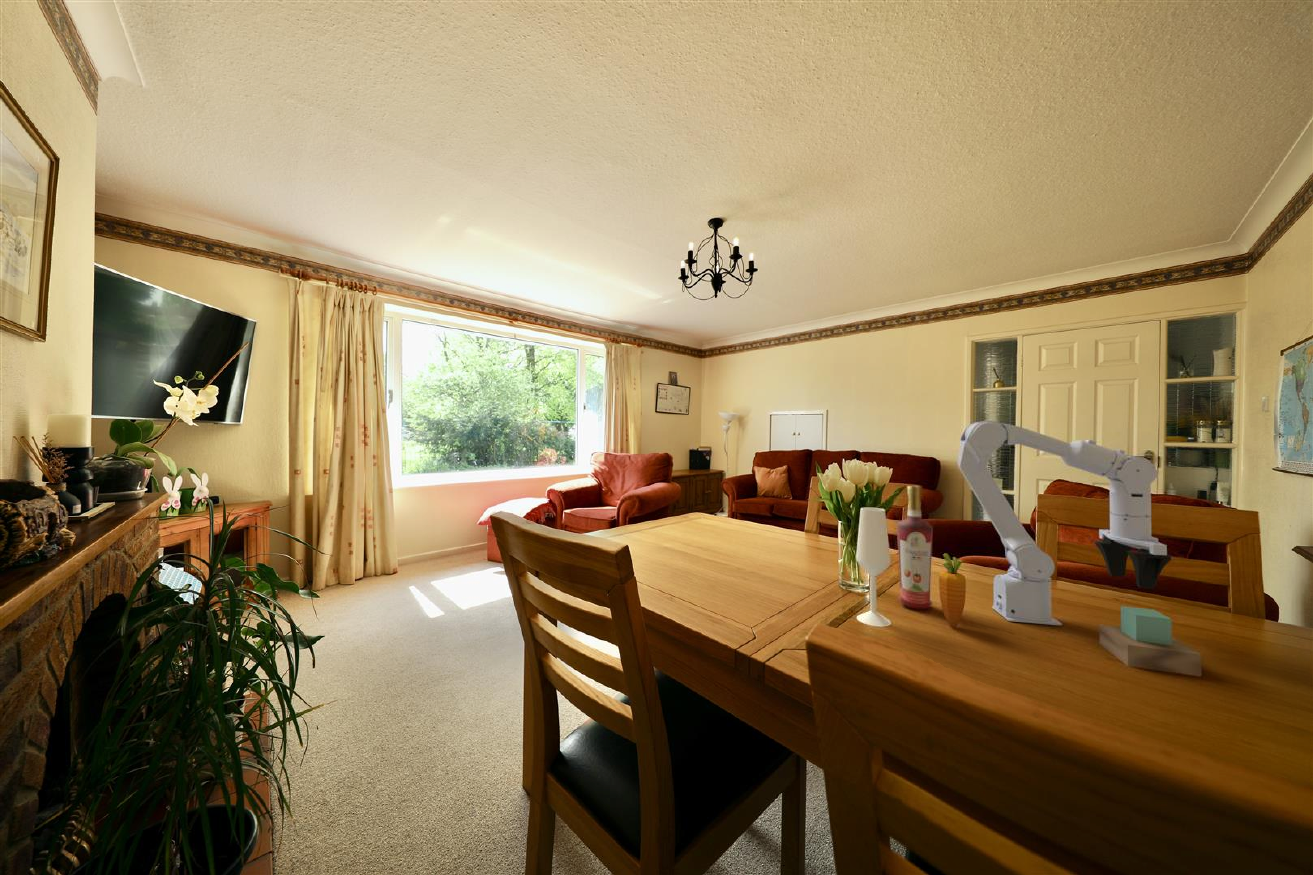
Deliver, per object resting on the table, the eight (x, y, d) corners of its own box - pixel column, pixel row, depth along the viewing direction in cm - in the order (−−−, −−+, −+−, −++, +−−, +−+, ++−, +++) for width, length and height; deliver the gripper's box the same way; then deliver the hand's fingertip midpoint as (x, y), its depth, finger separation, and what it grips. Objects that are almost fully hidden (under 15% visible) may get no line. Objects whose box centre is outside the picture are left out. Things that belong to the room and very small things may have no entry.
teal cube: (1136, 640, 77) (1136, 614, 77) (1121, 630, 81) (1120, 605, 81) (1171, 645, 75) (1171, 618, 75) (1154, 634, 79) (1154, 609, 79)
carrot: (972, 633, 88) (971, 558, 89) (944, 631, 89) (943, 557, 90) (960, 623, 93) (959, 552, 93) (934, 621, 94) (933, 551, 94)
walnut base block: (1128, 668, 76) (1127, 644, 76) (1099, 645, 84) (1099, 624, 84) (1201, 678, 72) (1201, 654, 72) (1164, 654, 80) (1164, 632, 80)
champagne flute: (873, 612, 100) (873, 506, 100) (898, 624, 93) (897, 510, 93) (849, 616, 98) (848, 507, 98) (873, 628, 91) (872, 512, 91)
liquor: (899, 609, 101) (898, 487, 101) (895, 598, 108) (894, 484, 108) (936, 614, 98) (935, 488, 98) (930, 602, 105) (929, 485, 105)
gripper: (1187, 522, 81) (1188, 595, 81) (1127, 509, 95) (1127, 572, 95) (1139, 520, 83) (1140, 592, 83) (1087, 508, 97) (1088, 570, 97)
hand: (1130, 582), depth 89 cm, fingers open, 7 cm apart
